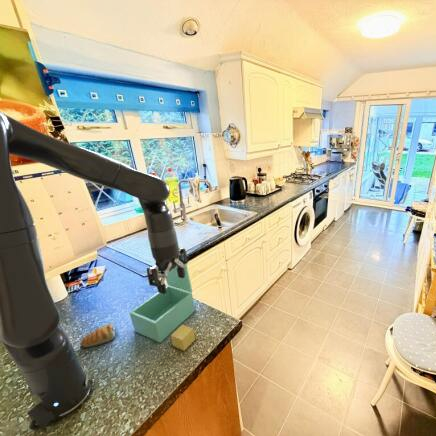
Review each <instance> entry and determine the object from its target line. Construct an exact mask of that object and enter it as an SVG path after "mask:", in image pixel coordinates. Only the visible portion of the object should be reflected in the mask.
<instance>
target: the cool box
mask: <svg viewBox="0 0 436 436" xmlns="http://www.w3.org/2000/svg"><path fill="white" fill-rule="evenodd" d="M166 291H167V293H165V294H162V293H159V292H158V291H157V293H155V294H154V295H152V296H151V297H149V298H148V299H147V300H145V301H144V302H142V303H141V304H139V305H138V306H137V307H135V308H134V309H132V310H130V312H129V316H130V320H131V322H132V326H133V329H134V332H136V333H138V334H140V335H142V336H144V337H147V338H148V339H151V340H153V341H155V342H158V343H161V342H163V341H164V340H165V339H166V338H167V337H168V336H169V335H171V334H172V333H173V332H174V331H175V330H177V329H178V328H179V327H180V326H181V325H182V323H184V322H185V321H186V320H187V319H188V318H189V317H190V316H191V315H192V314H193V313H195V311H196V308H195V303H194V297H193V292H191V293H190V292H187V291H184V290H181V289H178V288H175V287H172V286H169V285H167V286H166Z"/></svg>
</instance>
